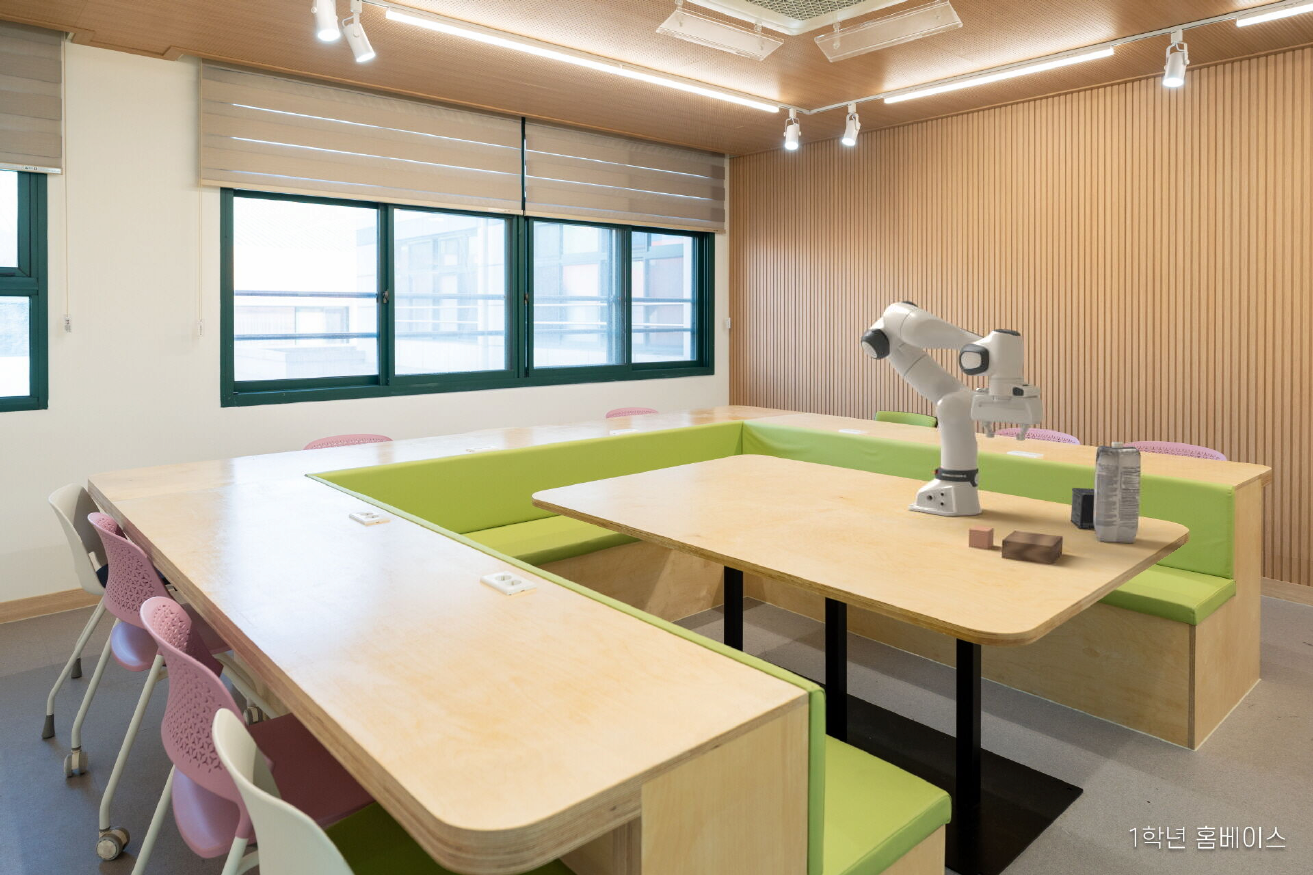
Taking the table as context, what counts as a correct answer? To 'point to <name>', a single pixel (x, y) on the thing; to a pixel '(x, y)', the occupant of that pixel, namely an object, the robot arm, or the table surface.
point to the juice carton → (1117, 493)
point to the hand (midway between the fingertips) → (1005, 438)
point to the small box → (1083, 508)
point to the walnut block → (1032, 547)
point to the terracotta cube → (981, 537)
